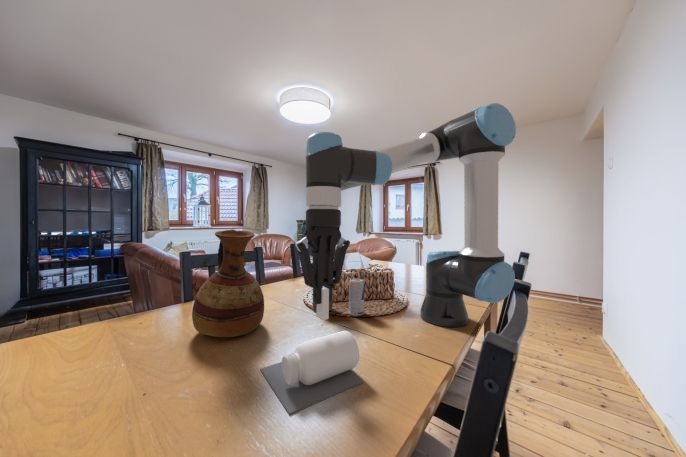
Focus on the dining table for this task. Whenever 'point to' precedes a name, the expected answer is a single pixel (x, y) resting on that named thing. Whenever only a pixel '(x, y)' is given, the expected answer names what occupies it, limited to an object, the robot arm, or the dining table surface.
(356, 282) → the energy drink
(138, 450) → the dining table surface
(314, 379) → the pill bottle
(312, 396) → the mat
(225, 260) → the ceramic pitcher
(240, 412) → the dining table surface
